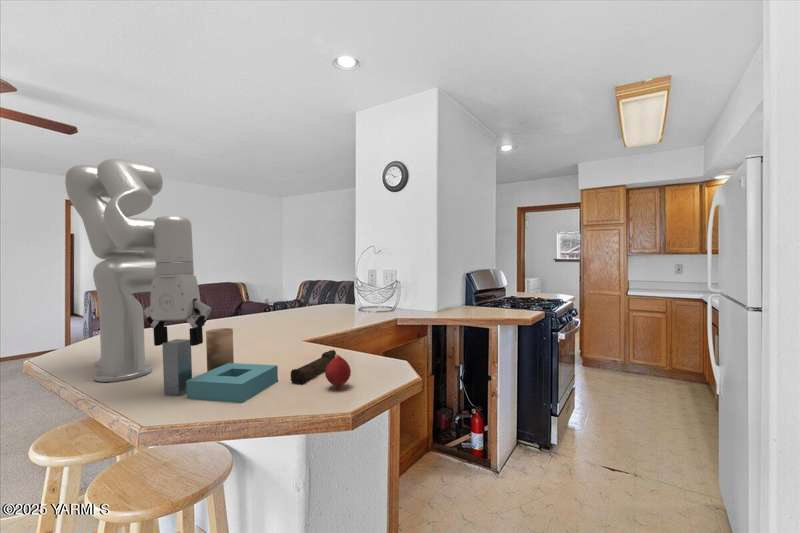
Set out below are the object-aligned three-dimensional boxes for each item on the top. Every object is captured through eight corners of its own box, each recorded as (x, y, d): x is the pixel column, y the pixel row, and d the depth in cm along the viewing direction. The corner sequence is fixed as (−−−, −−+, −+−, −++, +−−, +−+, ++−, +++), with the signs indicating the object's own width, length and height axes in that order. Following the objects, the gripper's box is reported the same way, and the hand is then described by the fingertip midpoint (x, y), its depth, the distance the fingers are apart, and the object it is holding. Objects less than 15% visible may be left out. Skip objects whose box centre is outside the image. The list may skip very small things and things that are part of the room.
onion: (341, 381, 91) (340, 349, 91) (355, 387, 87) (355, 353, 87) (321, 388, 87) (320, 354, 87) (335, 394, 83) (334, 358, 83)
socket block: (186, 398, 82) (186, 380, 82) (229, 378, 96) (228, 362, 95) (242, 402, 79) (241, 383, 79) (277, 381, 93) (277, 365, 92)
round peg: (201, 378, 96) (200, 332, 96) (218, 371, 102) (217, 327, 102) (223, 379, 95) (221, 333, 94) (239, 372, 101) (237, 328, 101)
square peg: (164, 395, 84) (162, 342, 84) (178, 389, 88) (176, 339, 88) (178, 396, 84) (177, 343, 83) (192, 389, 87) (190, 339, 87)
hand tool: (303, 386, 89) (302, 367, 89) (289, 384, 91) (289, 365, 91) (344, 365, 107) (344, 349, 106) (332, 364, 108) (332, 348, 108)
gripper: (129, 272, 83) (133, 348, 84) (194, 269, 80) (198, 348, 80) (157, 271, 91) (161, 341, 91) (218, 268, 87) (222, 341, 87)
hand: (178, 344), depth 85 cm, fingers open, 9 cm apart
